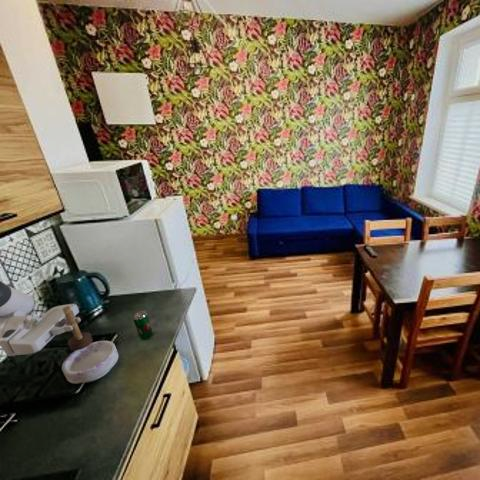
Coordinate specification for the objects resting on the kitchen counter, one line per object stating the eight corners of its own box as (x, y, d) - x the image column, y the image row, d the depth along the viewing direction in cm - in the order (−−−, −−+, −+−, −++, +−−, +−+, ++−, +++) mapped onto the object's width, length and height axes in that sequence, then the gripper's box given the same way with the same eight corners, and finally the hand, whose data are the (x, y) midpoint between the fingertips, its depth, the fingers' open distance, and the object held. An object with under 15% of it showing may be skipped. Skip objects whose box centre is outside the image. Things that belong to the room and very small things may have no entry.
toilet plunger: (66, 352, 88) (49, 315, 82) (74, 340, 93) (58, 304, 87) (89, 347, 90) (73, 311, 84) (95, 335, 95) (81, 300, 89)
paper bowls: (90, 394, 91) (82, 377, 87) (58, 383, 94) (49, 367, 91) (130, 360, 104) (125, 344, 101) (101, 351, 108) (95, 336, 105)
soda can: (138, 336, 116) (130, 314, 111) (151, 330, 119) (144, 308, 115) (141, 342, 113) (134, 319, 108) (155, 336, 116) (148, 313, 112)
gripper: (54, 316, 97) (97, 312, 99) (3, 360, 78) (57, 354, 80) (47, 301, 94) (91, 297, 96) (-7, 344, 76) (49, 338, 78)
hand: (75, 323), depth 88 cm, fingers closed on toilet plunger
